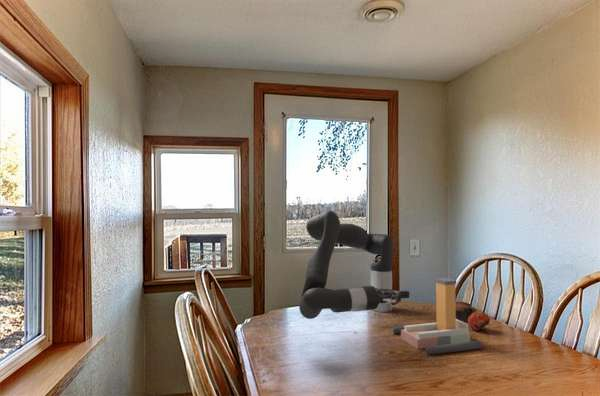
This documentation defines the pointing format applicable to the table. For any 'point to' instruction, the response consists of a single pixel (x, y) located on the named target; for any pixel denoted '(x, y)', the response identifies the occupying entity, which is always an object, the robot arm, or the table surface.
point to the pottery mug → (463, 311)
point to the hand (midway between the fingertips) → (408, 293)
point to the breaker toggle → (445, 303)
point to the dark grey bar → (453, 347)
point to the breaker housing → (434, 334)
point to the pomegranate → (478, 320)
